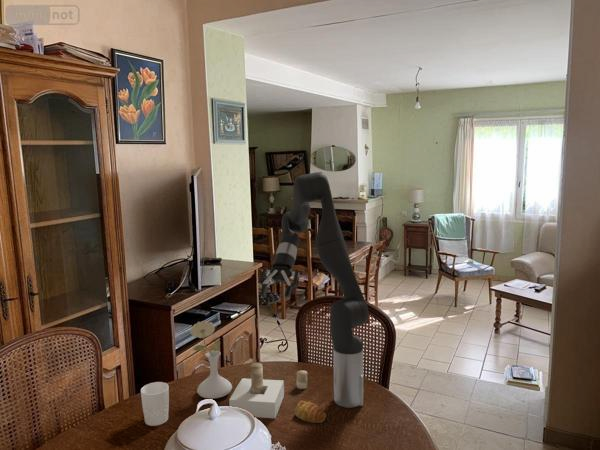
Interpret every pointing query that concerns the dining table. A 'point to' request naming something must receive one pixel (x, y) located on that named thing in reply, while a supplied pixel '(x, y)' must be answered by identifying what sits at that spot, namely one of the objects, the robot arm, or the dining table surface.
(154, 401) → the white cup
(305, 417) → the pastry
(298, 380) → the short birch pin
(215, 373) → the flower in vase
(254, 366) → the tall birch pin
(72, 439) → the dining table surface
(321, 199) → the robot arm
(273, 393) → the guide block
